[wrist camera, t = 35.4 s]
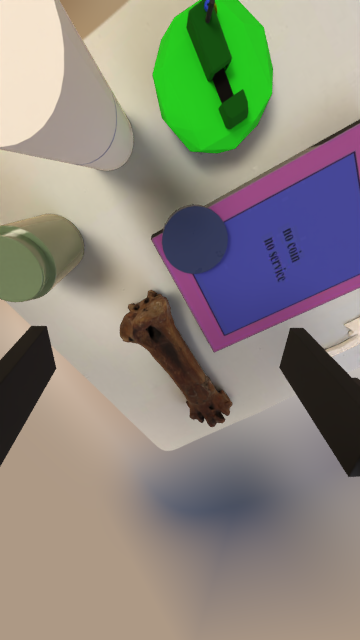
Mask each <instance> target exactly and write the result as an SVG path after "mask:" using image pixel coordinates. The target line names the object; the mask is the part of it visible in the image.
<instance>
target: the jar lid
mask: <svg viewBox="0 0 360 640" xmlns="http://www.w3.org/2000/svg"><path fill="white" fill-rule="evenodd" d="M161 243H162V247H163V251H164V254H165V256H166V258H167V260H168V261H169V262H170V264H171V265H172V266H173V267H175V268H176V269H178V270H179V271H182V272H184V273H189V274H199V273H203V272H206V271H208V270H210V269H212V268H213V267H215V266H216V265H217V264H218V263H219V262H220V260H221V259H222V257H223V256H224V254H225V251H226V249H227V244H228V234H227V229H226V226H225V224H224V222H223V220H222V219H221V218H220V217H219V215H218V214H216V213H215V212H214V211H212V209H210V208H207V207H204V206H201V205H194V204H192V205H188V206H184V207H182V208H180V209H178V210H176V211H175V212H174V213H173V214H172V215H171V216H170V217H169V218H168V220H167V222H166V223H165V226H164V229H163V234H162V242H161Z"/></svg>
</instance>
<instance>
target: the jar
mask: <svg viewBox="0 0 360 640" xmlns="http://www.w3.org/2000/svg"><path fill="white" fill-rule="evenodd" d="M83 254H84V243H83V239H82V236H81V234H80V232H79V231H78V229H77V228H76V227H75V226H74V225H73V224H72V223H71V222H70V221H68V220H67V219H65V218H63V217H61V216H58V215H54V214H44V215H40V216H36V217H32V218H28V219H24V220H20V221H16V222H12V223H8V224H4V225H1V226H0V299H2V300H5V301H10V302H24V301H28V300H31V299H36V298H40V297H42V296H44V295H45V294H47V293H48V292H49V291H50V290H51V289H52V288H53V287H54V286H55V285H56V284H57V283H58V282H60V281H61V280H62V279H63V278H64V277H65V276H66V275H67V274H68V273H69V272H70V271H71V270H72V269H74V268H75V267H76V266H77V265H78V264H79V263H80V261H81V259H82V257H83Z"/></svg>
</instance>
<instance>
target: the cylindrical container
mask: <svg viewBox="0 0 360 640" xmlns="http://www.w3.org/2000/svg"><path fill="white" fill-rule="evenodd" d="M0 149H1V150H6V151H11V152H16V153H21V154H26V155H31V156H35V157H40V158H45V159H50V160H55V161H60V162H65V163H70V164H75V165H80V166H85V167H89V168H94V169H99V170H104V171H111V170H115V169H118V168H120V167H121V166H122V165H124V164H125V163H126V161H127V160H128V159H129V157H130V155H131V152H132V149H133V131H132V127H131V125H130V122H129V120H128V118H127V117H126V115H125V113H124V111H123V110H122V108H121V106H120V104H119V103H118V101H117V99H116V97H115V96H114V94H113V92H112V90H111V89H110V87H109V85H108V83H107V82H106V80H105V78H104V76H103V75H102V73H101V71H100V70H99V68H98V66H97V64H96V63H95V61H94V59H93V57H92V56H91V54H90V52H89V51H88V49H87V47H86V45H85V44H84V42H83V40H82V39H81V37H80V35H79V33H78V32H77V30H76V28H75V26H74V25H73V23H72V21H71V20H70V18H69V16H68V14H67V13H66V11H65V9H64V8H63V6H62V4H61V2H60V1H59V0H0Z"/></svg>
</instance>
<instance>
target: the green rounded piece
mask: <svg viewBox="0 0 360 640" xmlns="http://www.w3.org/2000/svg"><path fill="white" fill-rule="evenodd" d="M153 79H154V84H155V88H156V93H157V97H158V102H159V107H160V111H161V116H162V118H163V120H164V121H165V122H166V123H167V125H168V126H169V127H170V128H171V129H172V131H173V132H174V133H175V134H176V135H177V136H178V138H179V139H180V140H181V141H182V142H183V143H184V145H185V146H186V147H187V148H188V149H189V150H190V152H204V153H221V152H225V151H229V150H232V149H235V148H236V147H237V146H238V145H239V144H240V143H241V142H242V141H243V140H244V139H245V138H246V137H247V136H248V135H249V133H250V132H251V131H252V130H253V129H254V128H255V127H256V126H257V125H258V123H259V121H260V119H261V116H262V114H263V112H264V110H265V108H266V106H267V103H268V101H269V99H270V97H271V95H272V81H273V67H272V63H271V58H270V54H269V49H268V44H267V40H266V35H265V31H264V27H263V26H262V25H261V24H260V23H259V22H258V21H257V20H256V19H255V18H254V16H253V15H252V14H251V13H250V12H249V11H248V10H247V9H246V8H245V7H244V6H243V5H242V4H241V3H240V2H239V1H238V0H199V1H198V2H196V3H195V4H193V5H192V6H190V7H189V8H187V9H186V10H185V11H183V12H182V13H180V14H179V15H177V16H176V17H174V19H173V21H172V22H171V24H170V26H169V28H168V29H167V31H166V33H165V34H164V36H163V38H162V40H161V43H160V47H159V51H158V55H157V59H156V63H155V67H154V71H153Z"/></svg>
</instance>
